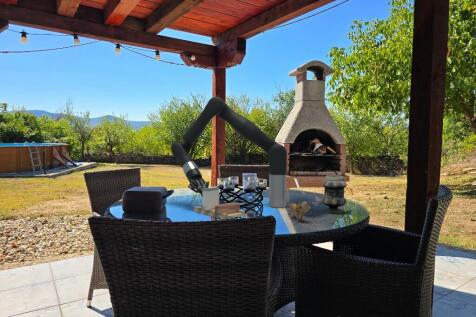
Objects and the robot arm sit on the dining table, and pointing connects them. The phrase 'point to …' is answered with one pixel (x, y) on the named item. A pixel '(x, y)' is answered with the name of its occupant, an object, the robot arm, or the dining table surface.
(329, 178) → the apothecary jar
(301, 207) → the lion figurine
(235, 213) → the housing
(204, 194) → the pale grey rectangular block
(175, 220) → the dining table surface
